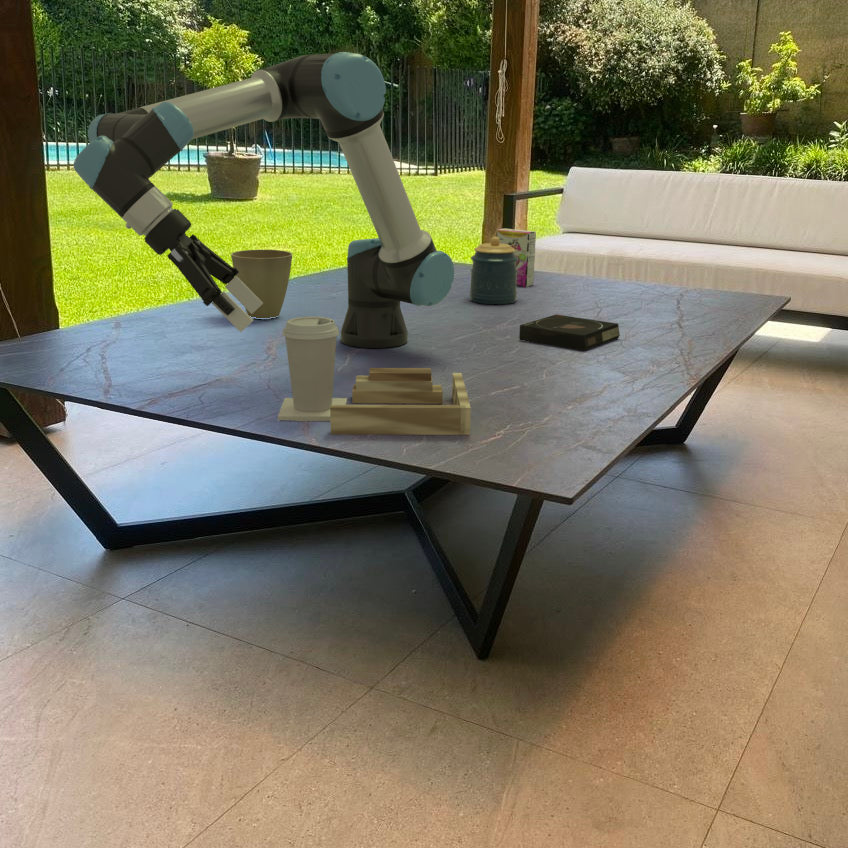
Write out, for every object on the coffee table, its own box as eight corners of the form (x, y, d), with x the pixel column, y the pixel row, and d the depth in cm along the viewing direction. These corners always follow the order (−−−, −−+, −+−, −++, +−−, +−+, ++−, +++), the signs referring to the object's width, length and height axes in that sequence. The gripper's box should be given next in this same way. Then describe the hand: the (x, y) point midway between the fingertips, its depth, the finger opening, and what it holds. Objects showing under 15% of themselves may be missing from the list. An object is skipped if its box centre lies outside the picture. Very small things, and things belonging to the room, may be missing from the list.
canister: (503, 307, 261) (505, 240, 256) (461, 301, 268) (462, 237, 262) (524, 299, 272) (527, 236, 266) (483, 295, 278) (485, 232, 273)
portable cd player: (585, 353, 214) (586, 335, 212) (519, 342, 223) (519, 325, 222) (619, 340, 226) (620, 323, 225) (555, 330, 236) (556, 314, 235)
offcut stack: (353, 396, 177) (353, 367, 176) (441, 396, 178) (441, 367, 176) (352, 403, 173) (352, 373, 171) (442, 403, 173) (442, 374, 172)
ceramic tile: (285, 402, 173) (284, 397, 173) (346, 402, 173) (346, 398, 173) (278, 420, 163) (277, 416, 162) (344, 421, 163) (343, 416, 163)
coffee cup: (325, 417, 162) (323, 329, 157) (274, 411, 165) (271, 324, 161) (349, 402, 170) (348, 318, 166) (301, 396, 174) (299, 313, 169)
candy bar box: (493, 284, 297) (495, 229, 292) (501, 281, 301) (503, 228, 296) (526, 287, 291) (529, 232, 286) (534, 285, 295) (536, 230, 290)
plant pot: (229, 323, 237) (226, 257, 232) (238, 311, 251) (235, 249, 246) (291, 323, 237) (289, 257, 232) (296, 311, 251) (294, 249, 246)
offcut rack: (338, 396, 177) (337, 372, 176) (460, 396, 178) (461, 373, 176) (330, 434, 156) (330, 407, 155) (470, 434, 157) (470, 408, 155)
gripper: (159, 228, 170) (246, 315, 176) (123, 250, 147) (225, 350, 152) (189, 198, 169) (276, 287, 174) (157, 215, 145) (259, 318, 151)
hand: (252, 317), depth 163 cm, fingers open, 13 cm apart
